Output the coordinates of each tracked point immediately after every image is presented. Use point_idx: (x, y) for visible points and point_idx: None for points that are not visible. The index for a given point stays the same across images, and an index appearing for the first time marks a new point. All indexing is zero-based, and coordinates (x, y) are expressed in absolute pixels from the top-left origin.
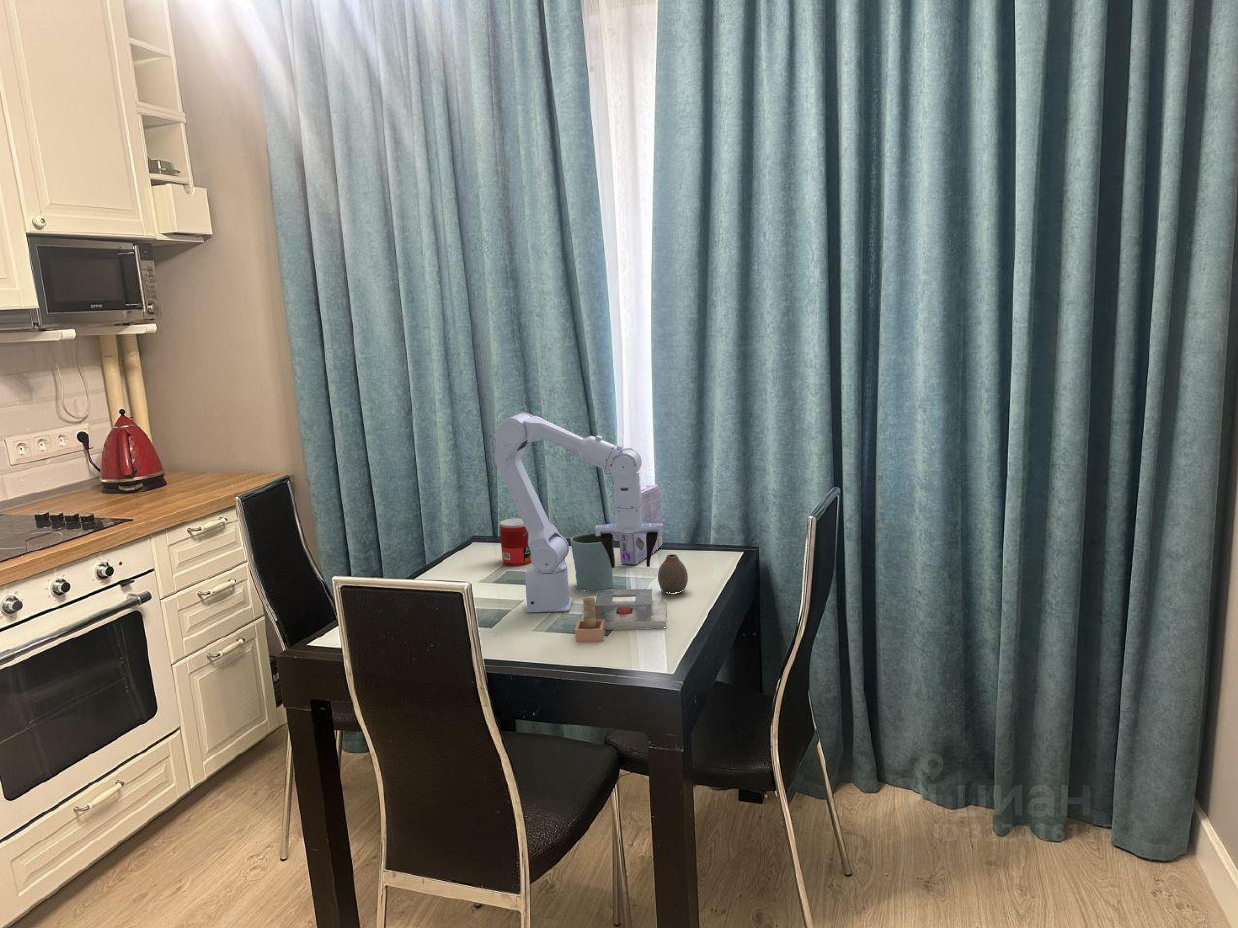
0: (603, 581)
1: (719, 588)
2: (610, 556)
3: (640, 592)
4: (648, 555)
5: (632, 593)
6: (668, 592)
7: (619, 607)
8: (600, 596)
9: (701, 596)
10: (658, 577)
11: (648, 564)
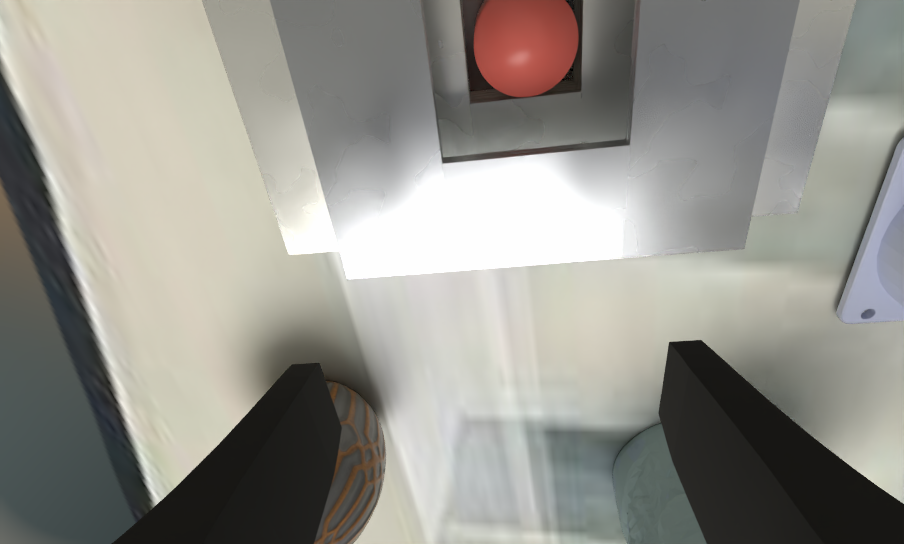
0: (666, 460)
1: (145, 437)
2: (788, 438)
3: (414, 208)
4: (232, 461)
5: (472, 185)
6: (334, 383)
7: (561, 4)
8: (740, 105)
9: (181, 361)
10: (373, 457)
11: (286, 377)
